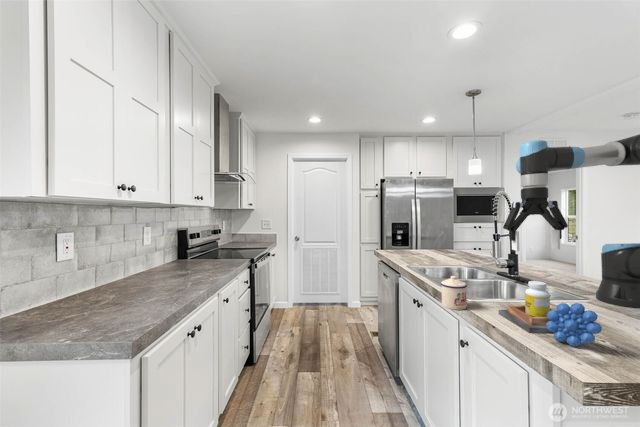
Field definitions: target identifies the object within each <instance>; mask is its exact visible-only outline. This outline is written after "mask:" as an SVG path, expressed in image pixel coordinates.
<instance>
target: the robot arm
mask: <svg viewBox="0 0 640 427" xmlns="http://www.w3.org/2000/svg"><path fill="white" fill-rule="evenodd" d="M597 166H606V167H616V166H640V133H639V134H636V135H633V136H629V137H625V138H622V139H618V140H613V141H607V142H606V143H604V144H603V145H602V144H601V145H594V146H588V147H580V146H571V145H569V146H553V147H552V146H549V145H548V142H547V141H546V140H542V139H541V140H540V139H539V140H530V141H527V142H524V143H522V144H520V147H519V158H518V159H517V161H516V163H515V168H516V171H517V172H518V173H519V175H520V187H521V189H520V198H521V202H519V201H513V202H512V204H511V210H510V212H509V214H508V215H507V217H506V220H505V222H504V224H503V227H502V229H504V230H506V231H508V232H509V233H508V234H509V240H510V241H511V250H512V251H517V252H519V251H520V231H519V230H518V229H519V228H520V227H521V225H522V224H523V223H524V222H525V221H526V219H527V218H528V217H529V216H531V215H532V216H536V215H537V216H538V215H540V216H542V218H543V219H544V220H545V221H546V222H547V223H548V224H549V225H550V226H551V227H552V229H550V238H551V244H550V245H551V249H552V250H561V239H562V231H564V230H565V229H567V228H568V227H569V224H568V223H567V221H566V219H565V217H564V216H563V213H562V212H561V210H560V208H559V205H558V201H557V200H548V198H549V188H548V187H547V186H549V173H550V172H557V171H559V172H560V171H563V170H564V171H565V170H571V169H572V170H574V169H575V170H576V169H581V168H582V169H583V168H588V167H597ZM548 208H549V209H548ZM521 209H522V210H521ZM520 210H521V211H520ZM549 210H550V211H549ZM518 214H519V215H518ZM600 260H601V262H600V263H601V281H600V284H599V285H598V289H597V290H596V292H595V298H596V300H598V301H600V302H603V303H607V304H609V305H610V304H611V305H615V306H622V307H626V308H640V243H639V242H638V243H637V242H636V243H606V244H605V243H604V245H602V246H601V252H600Z"/></svg>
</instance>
